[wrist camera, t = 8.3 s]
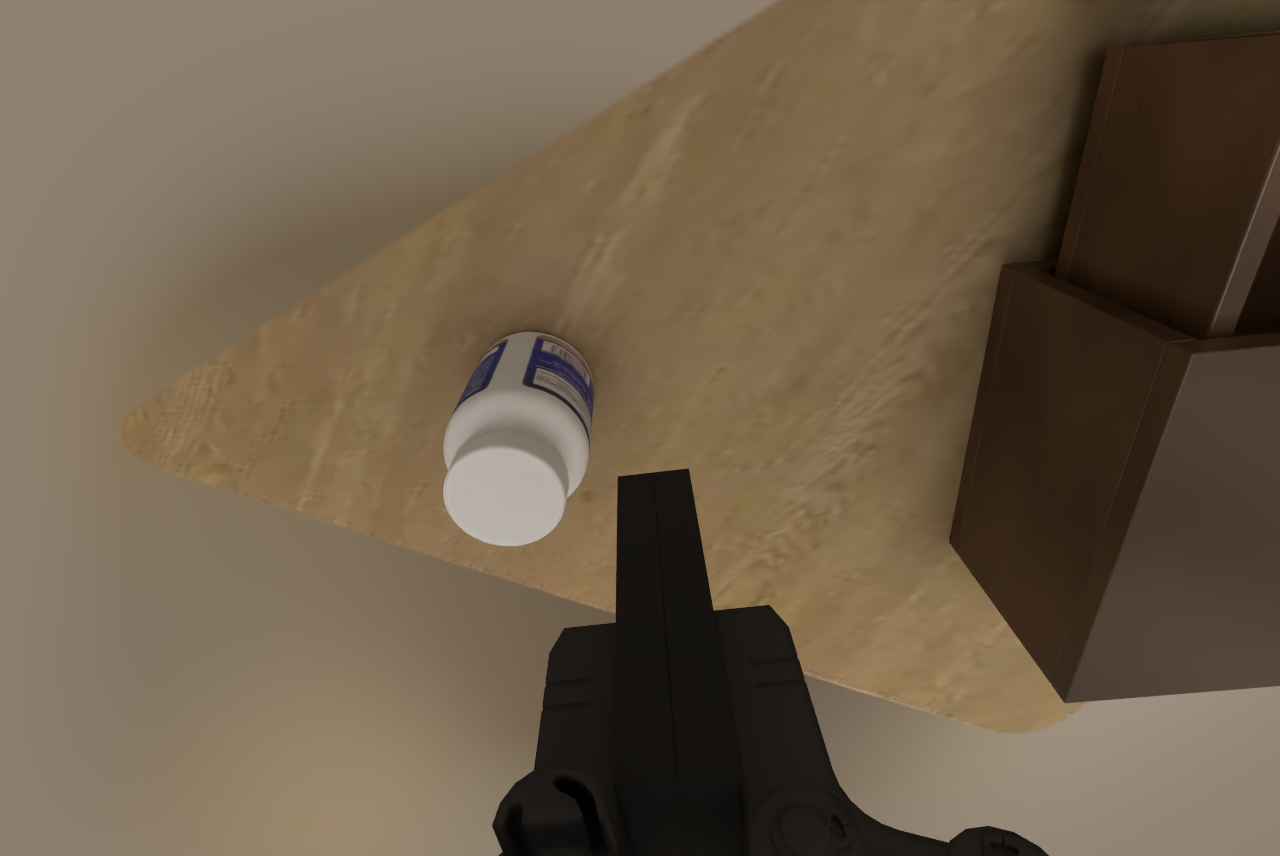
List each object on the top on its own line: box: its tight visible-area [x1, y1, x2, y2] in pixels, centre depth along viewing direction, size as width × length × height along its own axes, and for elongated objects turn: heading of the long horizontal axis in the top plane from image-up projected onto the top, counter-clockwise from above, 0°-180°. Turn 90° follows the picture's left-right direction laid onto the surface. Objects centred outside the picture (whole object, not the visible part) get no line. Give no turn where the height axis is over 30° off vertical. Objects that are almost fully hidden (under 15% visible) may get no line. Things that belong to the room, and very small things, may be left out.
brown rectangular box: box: [950, 260, 1280, 703], centre depth 25 cm, size 15×14×10 cm
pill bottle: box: [443, 332, 594, 546], centre depth 24 cm, size 5×5×9 cm
